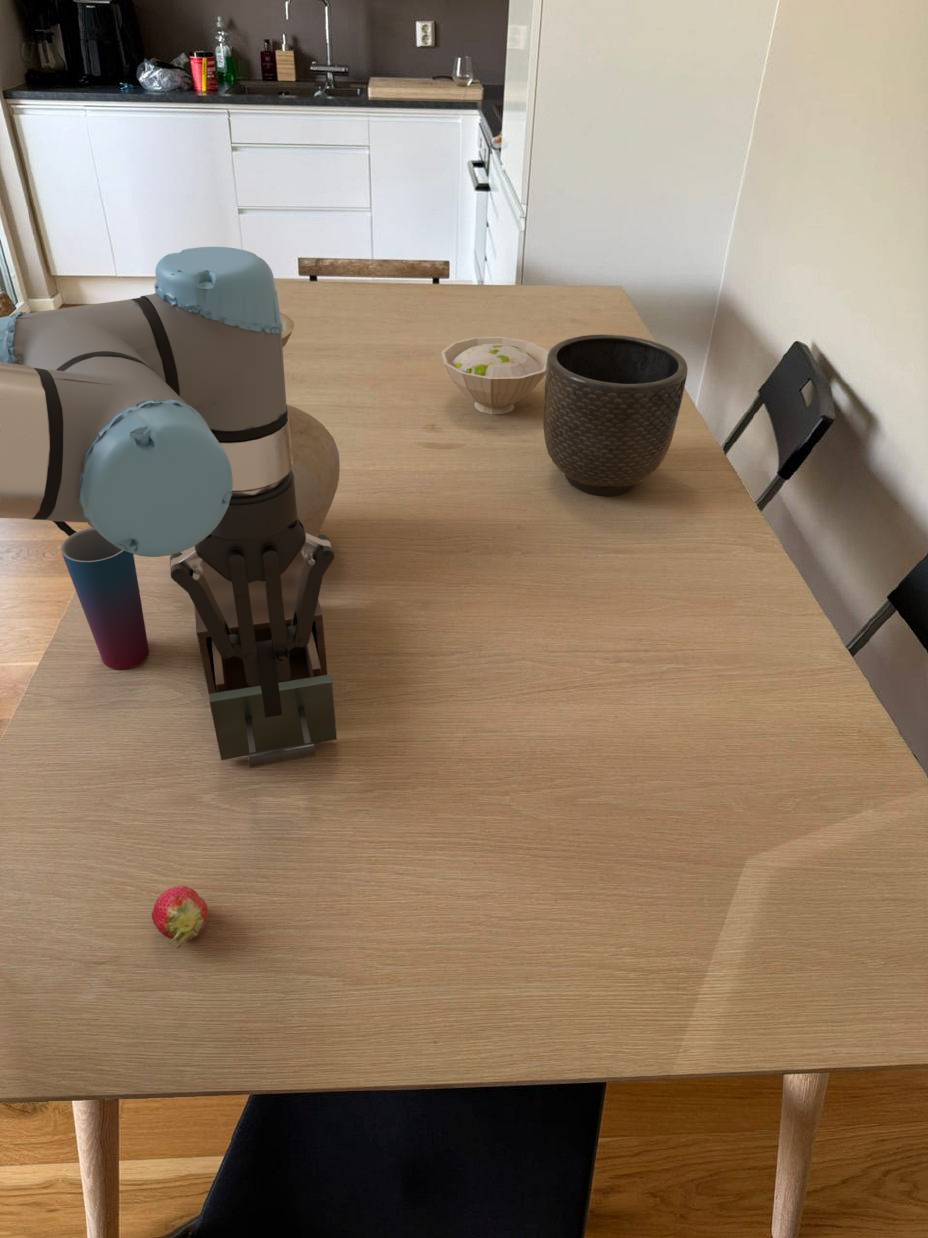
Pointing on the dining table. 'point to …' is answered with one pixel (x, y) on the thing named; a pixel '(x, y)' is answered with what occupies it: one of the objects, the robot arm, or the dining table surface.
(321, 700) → the drawer
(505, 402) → the bowl
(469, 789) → the dining table surface
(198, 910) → the fruit
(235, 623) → the cabinet
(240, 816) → the dining table surface
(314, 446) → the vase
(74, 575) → the cup
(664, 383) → the planter
